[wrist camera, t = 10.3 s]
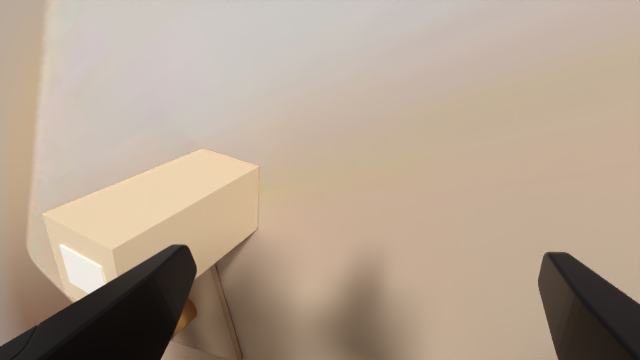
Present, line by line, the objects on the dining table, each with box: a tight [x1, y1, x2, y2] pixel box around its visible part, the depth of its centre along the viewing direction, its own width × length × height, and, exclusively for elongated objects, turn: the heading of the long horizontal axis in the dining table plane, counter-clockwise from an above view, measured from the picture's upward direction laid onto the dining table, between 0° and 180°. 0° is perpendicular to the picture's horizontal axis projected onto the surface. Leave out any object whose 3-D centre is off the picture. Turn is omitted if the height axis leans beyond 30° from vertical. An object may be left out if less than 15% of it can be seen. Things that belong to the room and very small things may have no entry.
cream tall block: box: [42, 148, 259, 301], centre depth 22 cm, size 5×5×11 cm
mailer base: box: [170, 263, 242, 360], centre depth 33 cm, size 10×11×4 cm
